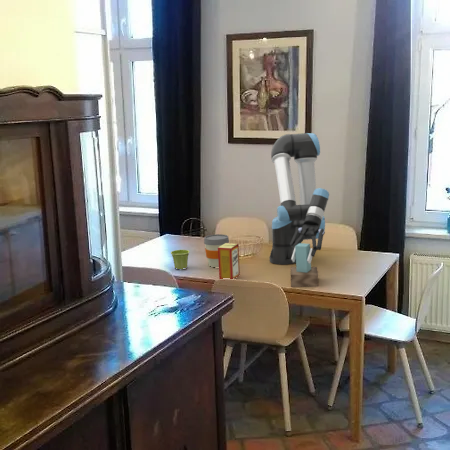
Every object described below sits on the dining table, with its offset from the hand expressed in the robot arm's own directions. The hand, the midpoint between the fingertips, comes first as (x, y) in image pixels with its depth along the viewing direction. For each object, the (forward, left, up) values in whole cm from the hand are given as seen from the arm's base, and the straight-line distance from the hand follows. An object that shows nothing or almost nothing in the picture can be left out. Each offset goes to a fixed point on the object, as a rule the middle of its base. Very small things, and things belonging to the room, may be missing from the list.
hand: (300, 261), depth 283 cm
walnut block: (0, +3, -11) cm, 12 cm away
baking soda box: (-36, -2, -11) cm, 38 cm away
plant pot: (-67, +3, -11) cm, 68 cm away
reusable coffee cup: (-52, +14, -11) cm, 55 cm away
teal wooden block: (0, +3, -5) cm, 6 cm away
